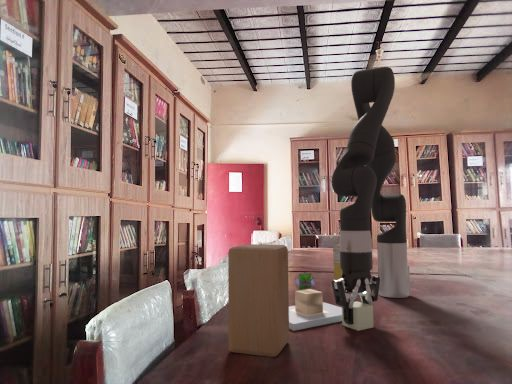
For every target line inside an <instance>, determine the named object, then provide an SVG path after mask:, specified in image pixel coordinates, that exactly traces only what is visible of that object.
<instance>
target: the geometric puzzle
mask: <svg viewBox="0 0 512 384" xmlns="http://www.w3.org/2000/svg"><path fill="white" fill-rule="evenodd" d="M294 281H295V286H298V291H299V290H306V289H313V288H315V286H316V282H315V278H314V277H313V276H312V273H311V272H305V271H303V273H298V276H297V277H295V279H294Z"/></svg>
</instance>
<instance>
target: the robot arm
mask: <svg viewBox="0 0 512 384" xmlns="http://www.w3.org/2000/svg"><path fill="white" fill-rule="evenodd" d="M350 82H351V94H352V98H353V102H354V103H353V104H354V107H355V112H356V115H357V122H355V124H354V125H353V127H352V128H351V131H350V134H349V137H348V141H347V144H346V145H347V146H346V149H345V152H344V153H343V155H342V157H341V158H340V160H339V162H338V164H337V165H336V167H335V168H334V170H333V173H332V176H331V187H332V190H333V191H334V193H335V194H336V195H337V196H339V197H356V200H355V201H354V203H352V204H350V205H346V206H343V207H342V208H340V211H339V227H340V228H339V233H340V234H339V244H340V268H341V269H342V271H343V273H342V276H341V279H339V280H334V279H332V280H331V285H332V290H333V295H334V296H333V297H334V301H335V304H336V306H339V307H343V316H344V317H343V319H344V321H345V323H346V324H349V325H352V324H353V308H352V307H353V303H354V302H355V300H356V299H357V296H359V297H360V301H361V303H365V304H369V305H373V304H374V303H373V302H377V301H378V299H379V296H381V297H385V298H391V299H404V298H408V297H409V296H411V277H410V275H411V273H410V265H408V248H407V247H408V245H407V242H408V241H407V200H406V197H405V195H403V194H401V193H395V194H394V193H391V194H390V193H389V194H388V193H387V194H382V193H381V191H382V188H383V185H384V183H385V181H386V180H387V178H388V176H389V175H390V174H391V171H393V169H394V167H395V164H396V161H397V154H396V146H395V140H394V138H393V136H392V135H391V134H390V133H389V131H388V130H387V129H386V128H385V127H384V126H383V122H384V121H385V117H386V115H387V113H388V110H389V107H390V105H391V102H392V100H393V97H394V93H395V87H396V86H395V85H396V81H395V75H394V70H393V69H392V68H391V67H389V66H379V67H373V68H365V69H360V70H357V71H355V72H353V73H352V76H351V81H350ZM370 103H371V104H372V103H373V104H372V105H370ZM371 214H372V218H373V220H374V221H375V222H377V223H378V222H379V223H395V224H394V226H393V227H392V228H390V229H388V230H385V231H383V232H379V233H378V234H377V235H376V251H377V253H376V254H377V275H373V274H372V273H371V271H372V270H373V267H374V266H373V239H372V234H371V232H372V231H371Z"/></svg>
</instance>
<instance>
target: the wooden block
mask: <svg viewBox="0 0 512 384" xmlns="http://www.w3.org/2000/svg"><path fill="white" fill-rule="evenodd" d="M227 254H228V262H227V263H228V265H227V266H228V267H227V268H228V280H227V281H228V284H227V285H228V293H227V294H228V299H227V300H228V350H229V351H230V352H231V353H238V354H245V355H252V356H253V355H254V356H262V357H269V358H275V357H277V356H279V354H281V351H283V349H284V348H285V346H286V345H287V344H288V342H289V340H290V329H289V306H290V305H289V300H290V299H289V297H290V296H289V248H288V247H287V246H286V245H284V244H257V243H256V244H252V243H251V244H242V245H237V246H233V247H230V248H229V250H228V252H227Z"/></svg>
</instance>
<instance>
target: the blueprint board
mask: <svg viewBox="0 0 512 384" xmlns="http://www.w3.org/2000/svg"><path fill="white" fill-rule="evenodd" d="M339 322H342V306H339V305H334V304H331V303H328V302H324V301H323V312H320V313H315V314H309V315H307V314H304V313H301V312H298V311H295V305H289V330H291V331H294V332H295V331H299V330H304V329H309V328H314V327H320V326H324V325H329V324H335V323H339Z"/></svg>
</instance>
